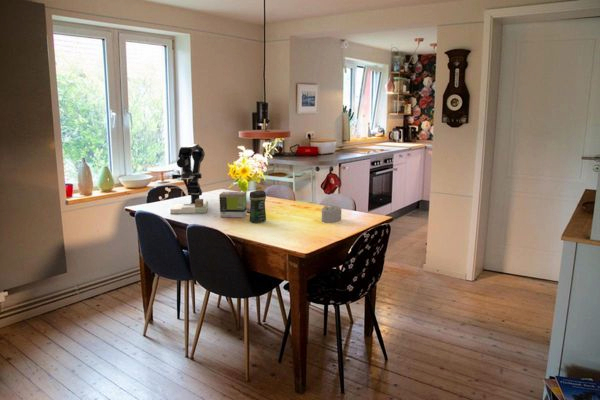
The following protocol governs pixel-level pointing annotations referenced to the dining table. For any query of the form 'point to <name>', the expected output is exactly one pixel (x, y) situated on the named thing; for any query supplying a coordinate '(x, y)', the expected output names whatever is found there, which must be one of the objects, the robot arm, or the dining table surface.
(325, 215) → the lumpy-topped squat cylinder
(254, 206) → the coffee jar
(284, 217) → the dining table surface
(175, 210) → the trap board
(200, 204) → the walnut block
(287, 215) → the dining table surface
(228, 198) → the retro computer monitor
